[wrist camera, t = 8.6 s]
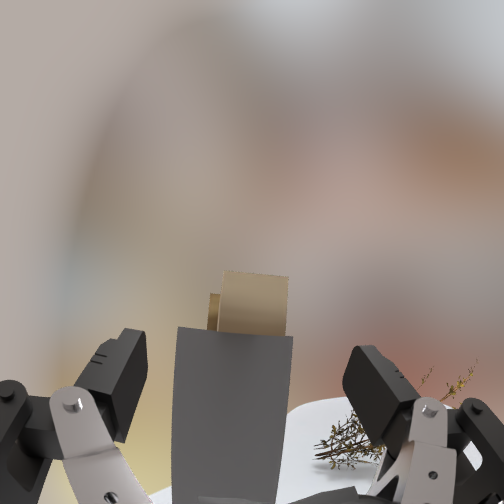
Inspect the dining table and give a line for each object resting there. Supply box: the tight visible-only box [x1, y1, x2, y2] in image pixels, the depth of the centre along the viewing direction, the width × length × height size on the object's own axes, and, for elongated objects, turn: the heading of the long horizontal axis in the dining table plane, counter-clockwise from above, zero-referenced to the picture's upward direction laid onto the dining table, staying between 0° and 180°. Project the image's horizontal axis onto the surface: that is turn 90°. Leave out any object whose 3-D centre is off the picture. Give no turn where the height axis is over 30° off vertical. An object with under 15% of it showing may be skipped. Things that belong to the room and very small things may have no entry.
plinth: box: [171, 327, 293, 504], centre depth 18 cm, size 8×8×34 cm
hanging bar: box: [207, 271, 288, 336], centre depth 20 cm, size 18×4×3 cm, turn 7°
